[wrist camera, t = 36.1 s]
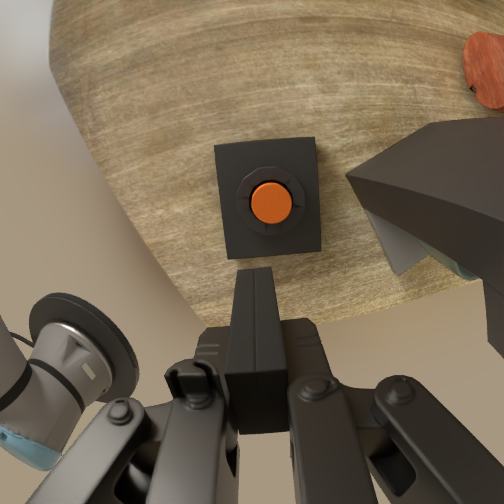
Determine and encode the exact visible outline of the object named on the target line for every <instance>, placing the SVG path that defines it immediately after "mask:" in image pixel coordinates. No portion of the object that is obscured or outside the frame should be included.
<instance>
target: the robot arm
mask: <svg viewBox="0 0 504 504" xmlns="http://www.w3.org/2000/svg"><path fill="white" fill-rule="evenodd" d="M12 337H14V338H17V339H19V340H21V341H22V342H24V343H26V344H27V345H29V346H31V347H33V348H34V349H33V351H32V354H31V357H30V358H29V360H28V361H27V360H26V358H25V357H24V355H23V354H22V352H21V351H20V349H19V347H18V346H17V345H16V343H15V341H14V339H13V338H12ZM114 377H115V372H114V367H113V364H112V362H111V360H110V358H109V356H108V354H107V353H106V351H105V350H104V348H103V347H102V346H101V345H100V343H99V342H98V341H97V340H96V339H95V338H94V337H93V336H92V335H90V334H89V333H88V332H87V331H85V330H84V329H83V328H81V327H79V326H78V325H76V324H74V323H72V322H69V321H66V320H61V319H56V320H52V321H50V322H49V323H47V324H46V325H45V326H44V327H43V328H42V329H41V331H40V333H39V336H38V339H37V341H36V344H34V343H32V342H30V341H29V340H27V339H25V338H24V337H22V336H20V335H17V334H15V333H12V332H9V331H8V329H7V327H6V325H5V323H4V322H3V320H2V318H1V316H0V446H1V447H2V448H3V449H4V450H6V451H7V452H8V453H10V454H11V455H13V456H14V457H16V458H17V459H19V460H21V461H22V462H24V463H25V464H27V465H29V466H31V467H33V468H35V469H37V470H40V471H49V470H51V469H52V468H53V467H54V465H55V463H56V462H57V460H58V459H59V457H60V456H62V451H63V449H64V447H65V445H66V443H67V441H68V439H69V438H70V436H71V434H72V432H73V430H74V428H75V426H76V424H77V423H78V421H79V419H80V417H81V415H82V413H83V412H84V410H85V408H86V407H87V406H89V405H90V404H91V403H93V402H94V401H95V400H97V399H98V398H99V397H100V396H102V395H103V394H105V393H106V392H107V391H108V390H109V388H110V387H111V385H112V383H113V381H114ZM164 377H165V379H166V382H167V384H168V387H169V389H170V391H171V394H172V396H173V400H172V401H170V402H167V403H164V404H160V405H155V406H149V407H143V406H142V404H141V403H140V402H139V401H138V400H136V399H134V398H130V397H121V398H116V399H114V400H111V401H109V402H108V403H107V404H106V405H104V406H103V407H102V409H101V410H100V411H99V412H98V413H97V415H96V416H95V417H94V418H93V419H92V421H91V422H90V423H89V424H88V426H87V427H86V428H85V429H84V431H83V432H82V433H81V434H80V435H79V437H78V438H77V439H76V440H75V442H74V443H73V444H72V445H71V447H70V448H69V449H68V450H67V451H66V453H65V454H64V455H63V456H62V458H61V459H60V460H59V461H58V463H57V464H56V465H55V467H54V468H53V469H52V470H51V471H50V473H49V474H48V475H47V476H46V478H45V479H44V480H43V482H42V483H41V484H40V485H39V487H38V488H37V489H36V490H35V492H34V493H33V494H32V495H31V497H30V498H29V499H28V501H27V502H26V503H25V504H238V485H239V457H240V449H239V445H238V441H237V435H238V430H239V434H240V435H246V434H262V433H263V434H264V433H275V432H286V431H289V432H290V453H291V458H292V468H293V478H294V487H295V498H296V504H378V500H377V497H376V494H375V490H374V486H373V482H372V479H371V475H370V473H371V474H372V476H373V477H374V479H375V480H376V482H377V483H378V485H379V486H380V488H381V489H382V491H383V492H384V494H385V495H386V497H387V498H388V500H389V501H390V503H391V504H504V466H503V465H502V464H501V463H500V462H499V461H498V460H497V459H496V458H495V457H494V456H493V455H492V454H491V453H490V452H489V451H488V450H487V449H486V448H485V447H484V446H483V445H482V444H481V443H480V442H479V441H478V440H477V439H476V437H475V436H474V435H473V434H472V433H471V432H470V431H469V430H468V429H467V428H466V427H465V426H464V425H462V423H461V422H460V421H458V419H457V418H456V417H454V416H453V415H452V413H451V412H449V410H447V409H446V408H445V407H444V406H443V405H442V404H441V403H440V402H439V401H438V400H437V399H436V398H435V397H434V396H433V395H432V394H431V393H430V392H429V391H428V390H427V389H426V388H425V387H424V386H423V385H422V384H421V383H420V382H418V381H417V380H415V379H414V378H412V377H408V376H404V375H394V376H390V377H387V378H385V379H383V380H382V381H381V382H379V383H378V385H377V387H376V388H375V389H360V388H352V387H348V386H345V385H343V384H342V383H340V382H339V380H338V379H337V378H335V377H334V376H333V375H332V372H331V370H330V367H329V363H328V360H327V357H326V355H325V351H324V348H323V345H322V344H321V340H320V337H319V334H318V331H317V328H316V325H315V324H314V323H313V322H311V321H310V320H309V319H308V318H299V319H290V320H281V321H280V317H279V311H278V305H277V298H276V292H275V286H274V280H273V274H272V268H271V267H264V268H254V269H244V270H237V277H236V284H235V292H234V300H233V307H232V315H231V323H230V326H225V327H209V328H207V329H206V330H205V331H204V332H203V333H202V334H201V335H200V337H199V340H198V344H197V348H196V351H195V356H194V358H193V359H185V360H183V361H180V362H178V363H175V364H174V365H173V366H171V367H170V368H169V369H168V370H167V372H166V373H165V375H164ZM369 471H370V472H369Z"/></svg>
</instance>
